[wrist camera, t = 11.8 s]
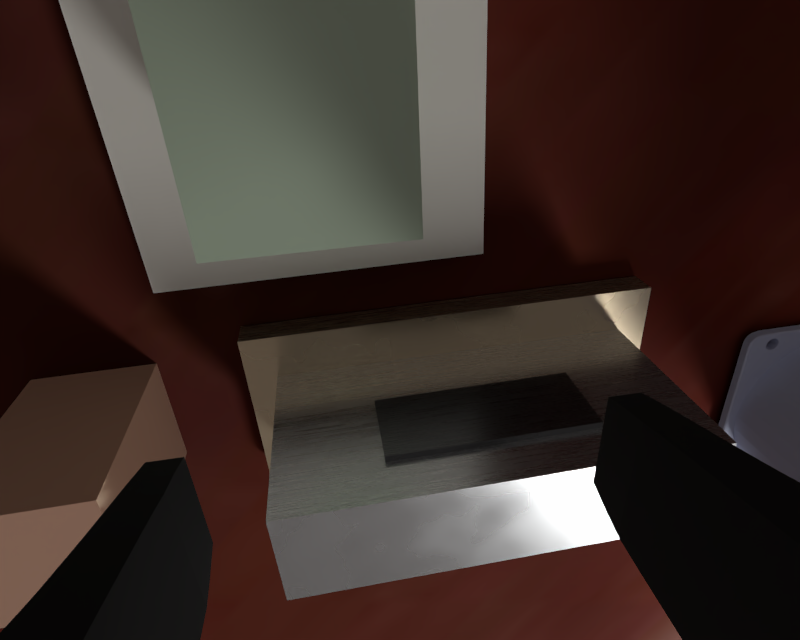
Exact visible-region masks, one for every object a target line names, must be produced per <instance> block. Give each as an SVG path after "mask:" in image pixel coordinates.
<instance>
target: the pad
mask: <svg viewBox="0 0 800 640" xmlns="http://www.w3.org/2000/svg"><path fill="white" fill-rule="evenodd" d="M59 3H60V7H61V10H62V13H63V16H64V19H65V22H66V25H67V28H68V31H69V34H70V37H71V40H72V44H73V47H74V50H75V53H76V56H77V59H78V62H79V65H80V68H81V71H82V74H83V77H84V81H85V84H86V87H87V90H88V93H89V96H90V99H91V102H92V105H93V108H94V111H95V115H96V118H97V121H98V124H99V127H100V130H101V133H102V136H103V139H104V142H105V145H106V148H107V152H108V155H109V158H110V161H111V164H112V167H113V170H114V173H115V176H116V179H117V182H118V185H119V189H120V192H121V195H122V198H123V201H124V204H125V207H126V210H127V213H128V216H129V219H130V223H131V226H132V229H133V232H134V235H135V238H136V241H137V244H138V247H139V250H140V253H141V256H142V260H143V263H144V266H145V269H146V272H147V275H148V278H149V281H150V284H151V287H152V290H153V293H161V292H169V291H178V290H186V289H194V288H203V287H211V286H219V285H228V284H236V283H244V282H253V281H261V280H269V279H278V278H286V277H294V276H303V275H311V274H319V273H328V272H336V271H344V270H353V269H361V268H369V267H377V266H386V265H394V264H402V263H411V262H419V261H427V260H436V259H444V258H452V257H461V256H469V255H477V254H483V242H484V180H485V119H486V57H487V0H415V15H416V44H417V73H418V102H419V131H420V159H421V188H422V217H423V239H420V240H411V241H402V242H392V243H383V244H374V245H365V246H355V247H346V248H337V249H328V250H318V251H309V252H300V253H291V254H281V255H272V256H263V257H254V258H244V259H235V260H226V261H217V262H207V263H198V264H197V262H196V259H195V255H194V251H193V247H192V243H191V239H190V236H189V232H188V228H187V224H186V220H185V217H184V213H183V209H182V205H181V201H180V197H179V194H178V190H177V186H176V182H175V178H174V175H173V171H172V167H171V163H170V159H169V155H168V152H167V148H166V144H165V140H164V136H163V133H162V129H161V125H160V121H159V117H158V113H157V110H156V106H155V102H154V98H153V94H152V91H151V87H150V83H149V79H148V75H147V71H146V68H145V64H144V60H143V56H142V52H141V49H140V45H139V41H138V37H137V33H136V29H135V26H134V22H133V18H132V14H131V10H130V7H129V3H128V0H59Z"/></svg>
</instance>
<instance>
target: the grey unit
mask: <svg viewBox="0 0 800 640" xmlns="http://www.w3.org/2000/svg"><path fill="white" fill-rule="evenodd" d="M650 292H651V287H650V286H648V285H647V284H646V283H644V282H643V281H642V280H640V279H639V278H638V277H636V276H631V277H623V278H615V279H607V280H600V281H592V282H584V283H576V284H569V285H561V286H553V287H545V288H538V289H530V290H522V291H514V292H506V293H499V294H491V295H483V296H475V297H468V298H460V299H452V300H444V301H437V302H429V303H421V304H413V305H405V306H398V307H390V308H382V309H374V310H367V311H359V312H351V313H343V314H336V315H328V316H320V317H312V318H304V319H297V320H289V321H281V322H273V323H266V324H258V325H250V326H242V327H240V332H239V336H238V341H237V343H238V347H239V351H240V355H241V359H242V363H243V367H244V371H245V375H246V379H247V383H248V387H249V391H250V395H251V399H252V403H253V407H254V411H255V415H256V419H257V423H258V427H259V431H260V435H261V439H262V443H263V447H264V451H265V455H266V459H267V463H268V467H269V471H270V477H269V490H268V502H267V515H266V524H267V528H268V531H269V535H270V539H271V542H272V546H273V550H274V554H275V557H276V561H277V565H278V568H279V572H280V576H281V579H282V583H283V587H284V590H285V594H286V598H287V600H292V599H297V598H303V597H308V596H314V595H319V594H325V593H330V592H335V591H341V590H346V589H352V588H357V587H363V586H368V585H373V584H379V583H384V582H390V581H395V580H401V579H406V578H411V577H417V576H422V575H428V574H433V573H439V572H444V571H449V570H455V569H460V568H466V567H471V566H477V565H482V564H487V563H493V562H498V561H504V560H509V559H515V558H520V557H525V556H531V555H536V554H542V553H547V552H553V551H558V550H563V549H569V548H574V547H580V546H585V545H591V544H596V543H601V542H607V541H612V540H618V539H620V538H619V536H618V534H617V532H616V530H615V528H614V526H613V524H612V522H611V520H610V518H609V516H608V514H607V512H606V510H605V507H604V505H603V503H602V501H601V498H600V496H599V494H598V492H597V489H596V487H595V485H594V483H593V481H594V475H595V469H596V464H597V458H598V452H599V447H600V441H601V435H602V429H603V424H604V418H605V412H606V407H607V401H608V397H613V396H620V395H627V394H634V393H643V394H645V395H647V396H649V397H651V398H653V399H654V400H656V401H658V402H660V403H662V404H664V405H665V406H667V407H669V408H671V409H672V410H674V411H676V412H678V413H679V414H681V415H683V416H684V417H686V418H688V419H690V420H691V421H693V422H695V423H696V424H698V425H700V426H702V427H703V428H705V429H707V430H708V431H710V432H712V433H714V434H715V435H717V436H719V437H720V438H722V439H724V440H726V441H727V442H729V443H731V444H732V445H734V446H736V444H737V443H736V442H735V441H734V440H733V439H732V438H731V437H730V436H729V435H728V434H727V433H726V432H725V431H724V430H723V429H722V428H721V427H720V426H719V425H718V424H717V423H716V422H715V421H714V420H712V419H711V418H710V417H709V416H708V415H707V414H706V413H705V412H704V411H703V410H702V409H701V408H700V407H699V406H698V405H697V404H696V403H695V402H694V401H693V400H692V399H691V398H689V397H688V396H687V395H686V394H685V393H684V392H683V391H682V390H681V389H680V388H679V387H678V386H677V385H676V384H675V383H674V382H673V381H672V380H671V379H670V378H669V377H668V376H666V375H665V374H664V373H663V372H662V371H661V370H660V369H659V368H658V367H657V366H656V365H655V364H654V363H653V362H652V361H651V360H650V359H649V358H648V357H647V356H646V355H645V354H643V353H642V352H641V351H640V344H641V339H642V334H643V329H644V323H645V318H646V313H647V308H648V302H649V297H650Z"/></svg>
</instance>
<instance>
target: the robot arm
mask: <svg viewBox="0 0 800 640" xmlns="http://www.w3.org/2000/svg"><path fill="white" fill-rule="evenodd" d="M718 425H719V426H720V427H721V428H722V429H723V430H724V431H725V432H726V433H727V434H728V435H729V436H730V437H731V438H732V439H733V440H734V441H735V442H736V443H737V444H736V446H734V445H732V444H731V443H729V442H727V441H726V440H724V439H722V438H720V437H719V436H717V435H715V434H714V433H712V432H710V431H708V430H707V429H705V428H703V427H702V426H700V425H698V424H696V423H695V422H693V421H691V420H690V419H688V418H686V417H684V416H683V415H681V414H679V413H678V412H676V411H674V410H672V409H671V408H669V407H667V406H665V405H664V404H662V403H660V402H658V401H656V400H654V399H653V398H651V397H649V396H647V395H645V394H643V393H634V394H627V395H620V396H613V397H608V401H607V407H606V412H605V418H604V424H603V429H602V435H601V441H600V447H599V452H598V458H597V464H596V469H595V475H594V481H593V483H594V485H595V487H596V489H597V492H598V494H599V496H600V498H601V501H602V503H603V505H604V507H605V510H606V512H607V514H608V516H609V518H610V520H611V522H612V524H613V526H614V528H615V530H616V532H617V534H618V536H619V538H620V540H621V541H622V543H623V545H624V546H625V548H626V550H627V551H628V553H629V555H630V556H631V558H632V560H633V561H634V563H635V564H636V566H637V568H638V569H639V571H640V573H641V574H642V576H643V577H644V579H645V581H646V582H647V584H648V585H649V587H650V589H651V590H652V592H653V593H654V595H655V597H656V598H657V600H658V601H659V603H660V605H661V606H662V608H663V609H664V611H665V613H666V614H667V616H668V617H669V619H670V621H671V622H672V624H673V625H674V627H675V628H676V630H677V632H678V633H679V635H680V636H681V638H682V640H800V325H794V326H787V327H780V328H773V329H766V330H759V331H755V332H752V333H751V334H749V335H748V336H747V337H746V338H745V340H744V342H743V344H742V348H741V351H740V354H739V358H738V361H737V364H736V368H735V371H734V374H733V378H732V381H731V384H730V388H729V391H728V394H727V398H726V401H725V404H724V408H723V411H722V414H721V418H720V421H719V424H718ZM212 546H213V542H212V539H211V536H210V533H209V530H208V527H207V524H206V521H205V518H204V515H203V512H202V509H201V506H200V503H199V500H198V497H197V494H196V491H195V488H194V485H193V482H192V479H191V476H190V473H189V470H188V467H187V464H186V461H185V458H184V457H180V458H173V459H166V460H159V461H152V462H145V463H144V464H143V465H142V467H141V468H140V469H139V470H138V471H137V473H136V474H135V475H134V476H133V477H132V478H131V480H130V481H129V482H128V483H127V484H126V486H125V487H124V488H123V489H122V491H121V492H120V493H119V494H118V495H117V497H116V498H115V499H114V500H113V502H112V503H111V504H110V505H109V506H108V508H107V509H106V510H105V511H104V513H103V514H102V515H101V516H100V518H99V519H98V520H97V521H96V522H95V524H94V525H93V526H92V527H91V529H90V530H89V531H88V532H87V533H86V535H85V536H84V537H83V538H82V539H81V541H80V542H79V543H78V544H77V545H76V547H75V548H74V549H73V550H72V551H71V553H70V554H69V555H68V556H67V557H66V558H65V560H64V561H63V562H62V563H61V564H60V566H59V567H58V568H57V569H56V570H55V571H54V573H53V574H52V575H51V576H50V577H49V579H48V580H47V581H46V582H45V583H44V584H43V586H42V587H41V588H40V589H39V590H38V591H37V593H36V594H35V595H34V596H33V597H32V598H31V599H30V601H29V602H28V603H27V604H26V605H25V606H24V607H23V608H22V609H21V611H20V612H19V613H18V614H17V615H16V616H15V617H14V618H13V619H12V620H11V622H10V623H9V624H8V625H7V626H6V627H5V628H4V629H3V630H2V631H1V633H0V640H200V637H201V633H202V628H203V623H204V618H205V613H206V608H207V600H208V590H209V581H210V570H211V558H212Z"/></svg>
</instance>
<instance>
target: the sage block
mask: <svg viewBox="0 0 800 640" xmlns="http://www.w3.org/2000/svg"><path fill="white" fill-rule="evenodd" d="M128 3H129V7H130V10H131V14H132V18H133V22H134V26H135V29H136V33H137V37H138V41H139V45H140V49H141V52H142V56H143V60H144V64H145V68H146V71H147V75H148V79H149V83H150V87H151V91H152V94H153V98H154V102H155V106H156V110H157V113H158V117H159V121H160V125H161V129H162V133H163V136H164V140H165V144H166V148H167V152H168V155H169V159H170V163H171V167H172V171H173V175H174V178H175V182H176V186H177V190H178V194H179V197H180V201H181V205H182V209H183V213H184V217H185V220H186V224H187V228H188V232H189V236H190V239H191V243H192V247H193V251H194V255H195V259H196V262H197V264H198V263H207V262H217V261H226V260H235V259H244V258H254V257H263V256H272V255H281V254H291V253H300V252H309V251H318V250H328V249H337V248H346V247H355V246H365V245H374V244H383V243H392V242H402V241H411V240H420V239H423V217H422V188H421V159H420V131H419V102H418V73H417V44H416V15H415V0H128Z"/></svg>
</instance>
